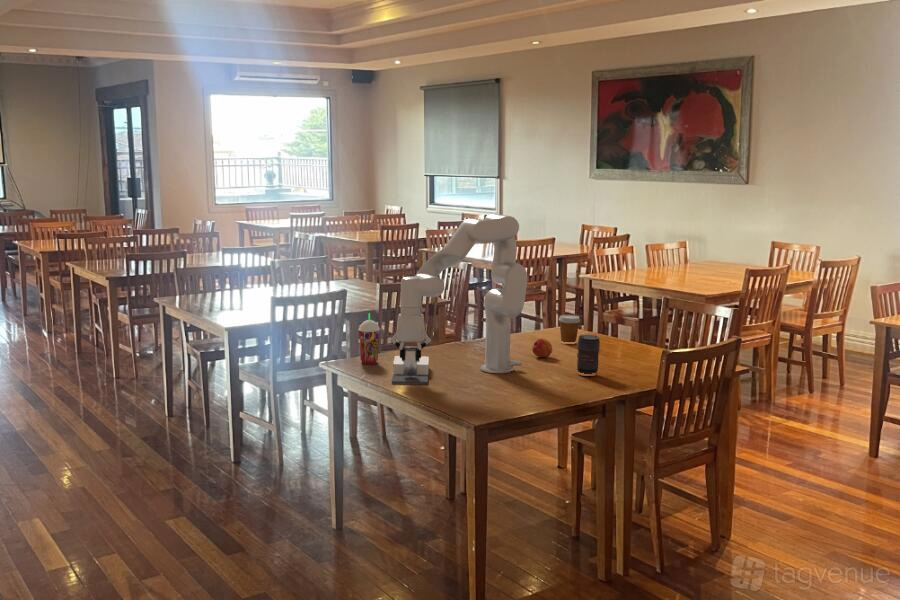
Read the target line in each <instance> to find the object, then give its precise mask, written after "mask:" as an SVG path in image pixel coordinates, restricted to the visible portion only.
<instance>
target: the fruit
mask: <svg viewBox="0 0 900 600" xmlns="http://www.w3.org/2000/svg"><path fill="white" fill-rule="evenodd" d="M531 350H532V353H533V355H535V356H536V357H539V358H541V357H546V358H549V357H550V355H551V354H552V353H553V346H552V343H550V341H548V340H547V339H545V338H539V339H537V340H536V341H535V342H534V343H533V346H532V349H531Z"/></svg>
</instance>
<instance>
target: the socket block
mask: <svg viewBox="0 0 900 600" xmlns="http://www.w3.org/2000/svg"><path fill="white" fill-rule="evenodd" d="M429 361H430V360H429V356H425V355H424V356H422V355H421V358H419V361H417V375H428V376H429V366H430V364H429V363H430V362H429ZM392 365H393V368H392V369H393V370H392V371H393V373H392V375H393V374H403V366H404V360H403V361H402V358H400V355H395V356H394V359H393V364H392Z"/></svg>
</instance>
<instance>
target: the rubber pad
mask: <svg viewBox="0 0 900 600" xmlns="http://www.w3.org/2000/svg"><path fill="white" fill-rule="evenodd" d="M391 384H392V385H428V384H429V374H428V375H415V376H406V375H404V374H393V373H392V378H391Z"/></svg>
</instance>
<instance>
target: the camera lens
mask: <svg viewBox="0 0 900 600" xmlns="http://www.w3.org/2000/svg"><path fill="white" fill-rule="evenodd" d="M600 343H601V342H600V336H597V335H594V334H580V335H579V336H578V340H577V355H576V357H577V362H576V363H577V364H576V367H577V368H576V369H577V370H576V371H577V372H580V373H584V374H592V373H596V374H597V373H598V371H599V370H598V369H599V354H600V347H601V346H600Z"/></svg>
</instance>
